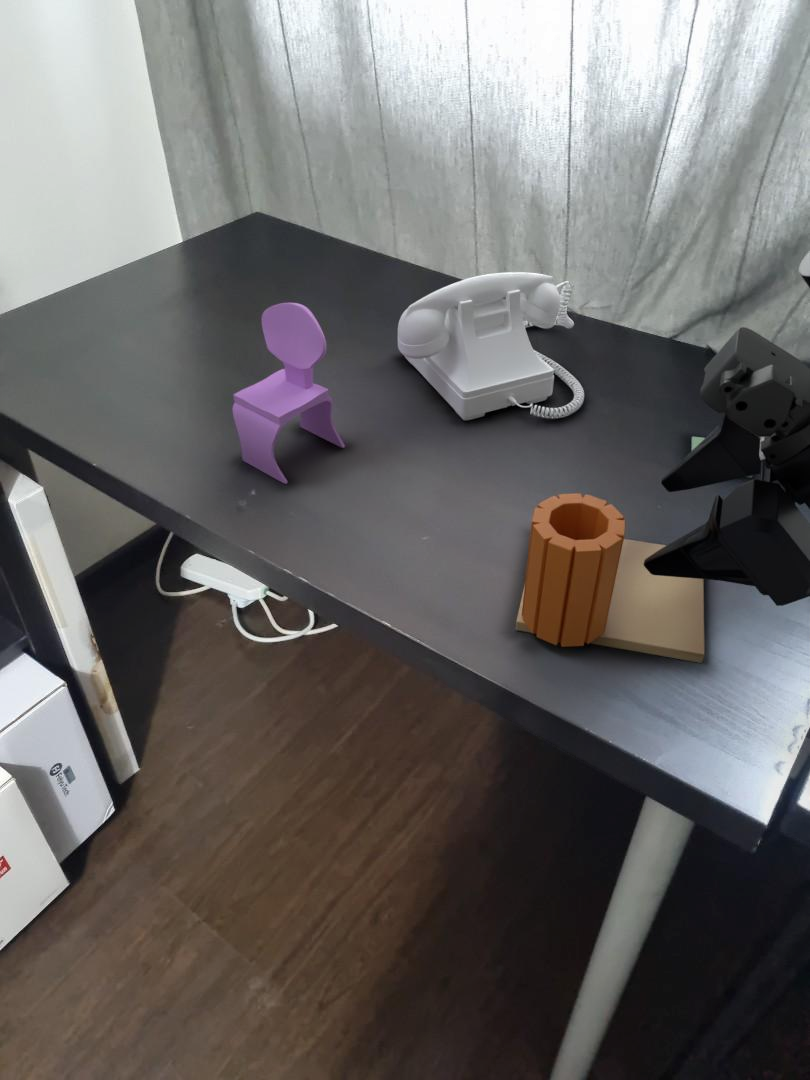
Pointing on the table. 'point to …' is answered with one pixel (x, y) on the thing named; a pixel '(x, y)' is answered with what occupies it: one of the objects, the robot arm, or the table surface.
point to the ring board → (651, 609)
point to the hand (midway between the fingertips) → (656, 524)
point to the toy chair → (285, 388)
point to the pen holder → (572, 568)
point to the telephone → (488, 342)
